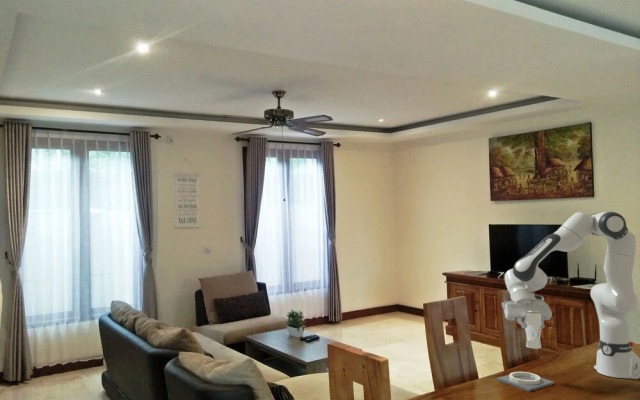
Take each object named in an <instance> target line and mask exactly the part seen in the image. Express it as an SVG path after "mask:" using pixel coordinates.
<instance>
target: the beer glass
mask: <svg viewBox="0 0 640 400" xmlns="http://www.w3.org/2000/svg"><path fill="white" fill-rule="evenodd" d="M526 312H533V313H535V314H532V313H526ZM523 323H525V324H526V326H527V327H526V328H524V331H525V334H526V335H525V336H526V342H525V346H526V348H528V349H533V350H536V349H537V350H538V349H541V348H542V344H541V332H542V328H541V326H542V322H541V312H539V311H524V320H523Z"/></svg>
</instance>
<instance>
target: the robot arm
mask: <svg viewBox="0 0 640 400" xmlns="http://www.w3.org/2000/svg"><path fill="white" fill-rule="evenodd" d="M589 235H593V236H597V237H598V236H599V237H605V239H606V242H607V245H606V246H607V248H606V251H605V258H604V262H603V263H604V264H603V271H604V274H605V279H606V282H601V283H596V284H594V285H593V286H592V287H591V289H590V297H591V300H592V301H593V303H594V307H595V309H596V310H595V311H596V314H597V318H598V323H599V339H598V347H599V349H598V350H597V351H596V364H595V365H593V368H594V369H595V370H596V371H597V372H598V374H601V375H603V376H607V377H611V378H618V379H632V380H639V379H640V357H639V356H638V355H636V353H635V352H634V351H633V348H634V347H635V342H634V341H630V339H629V338H630V335H629V333H630V331H629V324H628V323H629V322H628V321H627V320H626V318H625V316H624V313H631V312H633V311H635V309H636V308H637V307H638V304H639V299H638V297H637V295H636V293H635V290H634V283H633V282H634V281H633V270H634V266H635V265H634V263H635V257H636V249H637V246H636V245H637V244H636V242H637V241H636V236H635V235H634V233H633V232H631V231H629V229H628V226H627V221H626V219H625V217H624V216H623V215H622V214H620V213H618V212H615V211H601V212H596V213H592V214H590V215H589V214H588V213H586V212H582V211H577V212H574V214H572V215H571V216H570V217H569V218H567V220H566V221H564V223H562V225H561V226H560V227H558V229H557V230H556V231H554V232H553V233H551V234H547V236H545V237H544V238H543V239H542V240H541V241H539V243H537V244H536V245H535V247H533V248H532V249H530V251H529V252H528V253H526V254H525V255H524V256H523V257H521V258H519V259H518V260H516V262H515V263H514V265H513V268H511V269H509V270H507V271H506V272H505V274H504V283H505V286H506V288H507V291H508V293H509V295H510V296H509V297H510V300H503V301H502V302H501V307H502V309H503V313H504V317H505V319H506V320H507V321H516V322H517V324H519V325H520V326H521V328H522V329H525V328H526V327H527V326H526V324H525V323H524V311H539V312H541V322H542V326H541V329H545V326H546V325H545V324H544V323H545V321H549V320H551V318H552V316H553V313H552V310H551V308H550V306H549V305H548V303H547V302H545V298H544V296H543V295H538V294H536V293H535V292H536V291H540V290H542V289H544V288H545V287H547V284H548V281H549V279H548V278H549V277H548V275H547V274H546V273H545V272H544V271H543V269H541V268H540V267H539V265H540V263H541V262H542V261H543V260H544V259H545V258H546V257H547V256H548V255H549V254H550V253H552V252H554V251H560V252H564V253H565V252H567V253H568V252H573V251H575V250H576V249H578V247H580V245H582V243H583V242H584V241H585V240H586V238H587V237H588V236H589ZM533 292H534V293H535V294H534V293H533ZM526 313H532V314H535V313H533V312H526ZM632 347H633V348H632Z"/></svg>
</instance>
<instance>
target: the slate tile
mask: <svg viewBox="0 0 640 400" xmlns="http://www.w3.org/2000/svg"><path fill="white" fill-rule="evenodd" d="M496 381H498V382H500V383H504V384H505V385H506V384H507V385H508V386H509V385H510V386H512V387H514V386H515V387H514V388H517V389H521V390H523V389H524V391H525V392H526V391H527V392H532V390H533V391H535V390H539V389H542V388H545V387H546V388H547V387H549V386H553V385H554V384H555V381H553V380H549V379H546V378H543V377H541V376H539V375H538V374H535V373H532V372H529V371H528V372H527V371H513V372H510V373H509V374H507V375H503V376H499V377H496ZM552 384H553V385H552Z"/></svg>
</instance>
